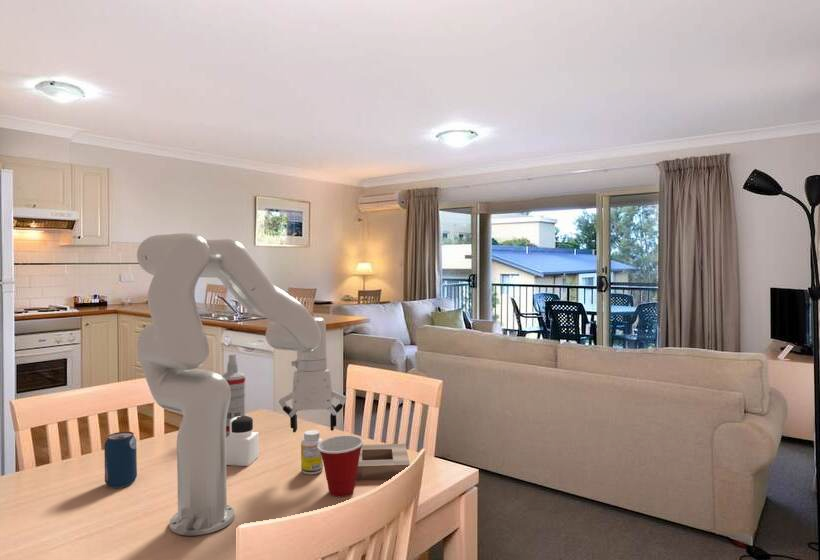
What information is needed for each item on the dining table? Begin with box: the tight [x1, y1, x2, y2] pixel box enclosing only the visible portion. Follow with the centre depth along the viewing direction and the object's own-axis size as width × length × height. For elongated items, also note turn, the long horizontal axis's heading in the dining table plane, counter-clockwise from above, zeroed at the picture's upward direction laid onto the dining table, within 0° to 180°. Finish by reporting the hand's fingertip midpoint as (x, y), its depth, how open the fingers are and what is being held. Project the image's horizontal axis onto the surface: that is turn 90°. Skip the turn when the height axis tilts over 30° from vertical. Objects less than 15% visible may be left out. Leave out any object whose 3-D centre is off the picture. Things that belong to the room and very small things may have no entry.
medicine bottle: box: [226, 415, 260, 467], centre depth 146 cm, size 7×7×12 cm
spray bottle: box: [220, 353, 247, 435], centre depth 173 cm, size 8×8×25 cm
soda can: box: [103, 431, 138, 489], centre depth 131 cm, size 7×7×12 cm
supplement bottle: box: [300, 429, 324, 475], centre depth 139 cm, size 6×6×10 cm
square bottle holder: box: [356, 443, 411, 481], centre depth 141 cm, size 16×16×4 cm
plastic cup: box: [317, 435, 364, 498], centre depth 126 cm, size 11×11×12 cm
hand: (313, 429), depth 139 cm, fingers open, 9 cm apart
